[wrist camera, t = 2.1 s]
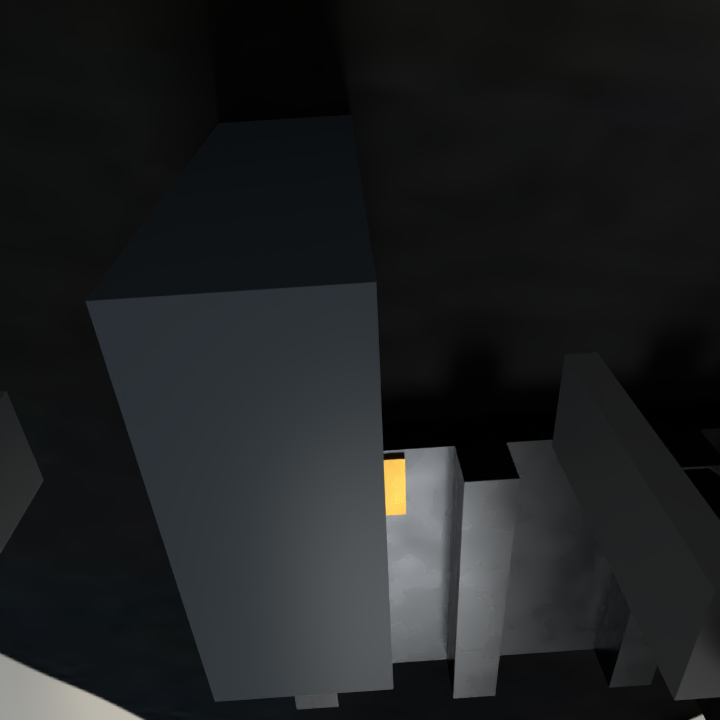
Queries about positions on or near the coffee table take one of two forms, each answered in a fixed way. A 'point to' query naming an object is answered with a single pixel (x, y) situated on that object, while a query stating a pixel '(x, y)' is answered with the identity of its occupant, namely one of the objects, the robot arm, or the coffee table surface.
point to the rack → (509, 550)
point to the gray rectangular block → (261, 406)
